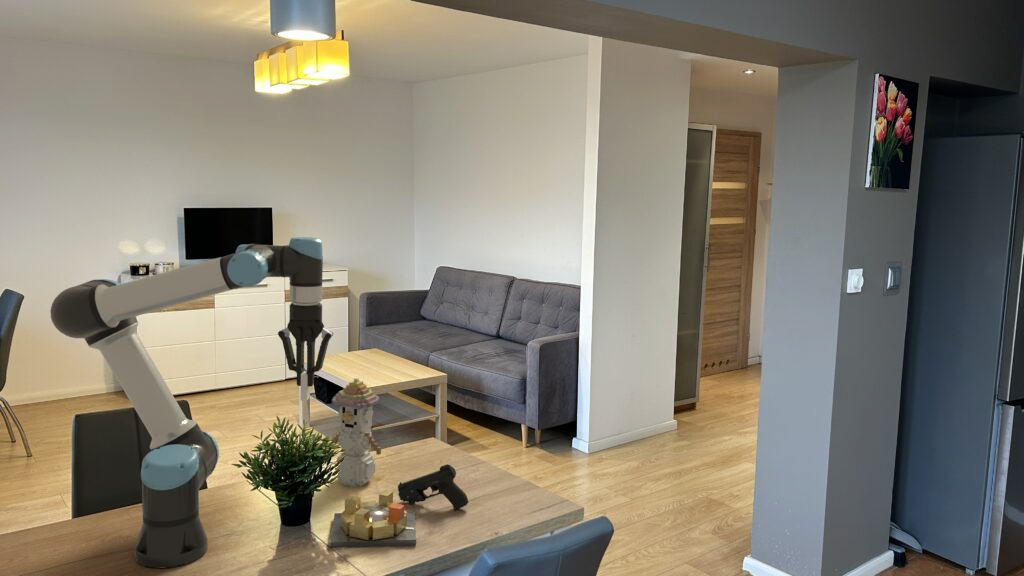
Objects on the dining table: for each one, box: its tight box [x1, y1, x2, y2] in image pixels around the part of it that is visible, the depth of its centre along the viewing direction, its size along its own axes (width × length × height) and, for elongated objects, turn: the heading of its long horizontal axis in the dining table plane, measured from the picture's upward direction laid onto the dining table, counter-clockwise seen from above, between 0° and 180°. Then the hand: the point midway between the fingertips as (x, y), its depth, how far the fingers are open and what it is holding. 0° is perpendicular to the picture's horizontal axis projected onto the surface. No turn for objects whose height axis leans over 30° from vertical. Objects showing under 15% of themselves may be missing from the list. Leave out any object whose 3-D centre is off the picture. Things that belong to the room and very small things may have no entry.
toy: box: [330, 377, 382, 488], centre depth 221 cm, size 16×12×30 cm
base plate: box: [329, 505, 417, 549], centre depth 192 cm, size 20×16×5 cm
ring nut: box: [341, 489, 407, 540], centre depth 192 cm, size 15×15×6 cm
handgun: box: [397, 464, 469, 511], centre depth 208 cm, size 2×17×12 cm, turn 79°
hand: (305, 398), depth 190 cm, fingers closed
